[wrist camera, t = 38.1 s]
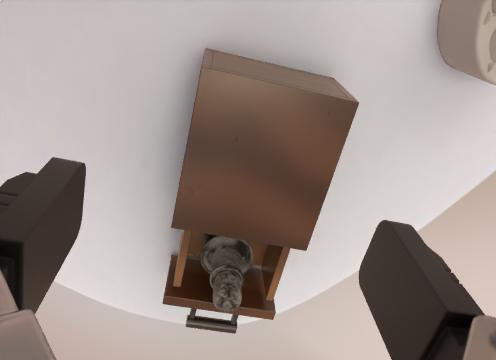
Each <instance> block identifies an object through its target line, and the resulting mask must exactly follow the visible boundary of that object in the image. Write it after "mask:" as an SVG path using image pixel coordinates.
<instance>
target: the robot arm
mask: <svg viewBox="0 0 496 360" xmlns="http://www.w3.org/2000/svg"><path fill="white" fill-rule="evenodd" d="M85 176H86V166H85V163H82V162H76V161H71V160H66V159H60V158H55V157H53V158H52V159H50V161H49V162H48V163H47V164H46V165H45V166H44V167H43V168H42V169H41V170H40V171H39V172H38V174H34V173H29V172H25V173H23V174H20V175H18V176H16V177H13V178H11V179H8V180H7V181H6V182H5V183H4V184H3V185H2V186H1V187H0V360H56V358H55V356H54V354H53V352H52V349H51V348H50V345H49V343H48V341H47V339H46V337H45V335H44V333H43V331H42V329H41V327H40V325H39V322H38V320H37V318H36V316H35V313H36V311H37V309H38V308H39V305H40V304H41V302H42V300H43V298H44V297H45V295H46V293H47V291H48V289H49V288H50V286H51V284H52V282H53V280H54V279H55V277H56V275H57V273H58V271H59V270H60V268H61V266H62V264H63V262H64V260H65V259H66V257H67V255H68V253H69V251H70V250H71V248H72V246H73V244H74V242H75V240H76V238H77V236H78V233H79V230H80V226H81V221H82V212H83V200H84V188H85ZM359 284H360V287H361V290H362V292H363V295H364V297H365V299H366V302H367V304H368V306H369V308H370V311H371V313H372V315H373V318H374V320H375V322H376V325H377V327H378V329H379V331H380V334H381V336H382V338H383V341H384V343H385V345H386V348H387V350H388V352H389V354H390V357H391V359H392V360H496V318H495V317H492V316H486V315H485V314H484V313H483V312H482V310H481V309H480V308H479V306H478V305H477V304H476V302H475V301H474V300H473V298H472V297H471V296H470V295H469V293H468V292H467V291H466V289H465V288H464V287H463V285H462V284H459V280H458V279H457V278H456V276H455V275H454V274H453V273H451V270H450V268H449V267H448V266H447V264H446V263H445V262H444V261H443V259H442V258H441V257H440V256H439V255H438V254H436V253H435V252H434V251H432V250H431V249H430V248H429V247H428V246H427V245H426V244H425V243H424V241H423V240H422V239H421V237H420V236H419V235H418V233H417V232H416V230H415V229H414V228H413V227H412V226H411V225H409V224H403V223H398V222H393V221H387V220H383V221H381V222H380V223H379V225H378V226H377V228H376V231H375V233H374V235H373V238H372V240H371V242H370V245H369V247H368V249H367V252H366V254H365V256H364V259H363V261H362V263H361V266H360V270H359Z"/></svg>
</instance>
